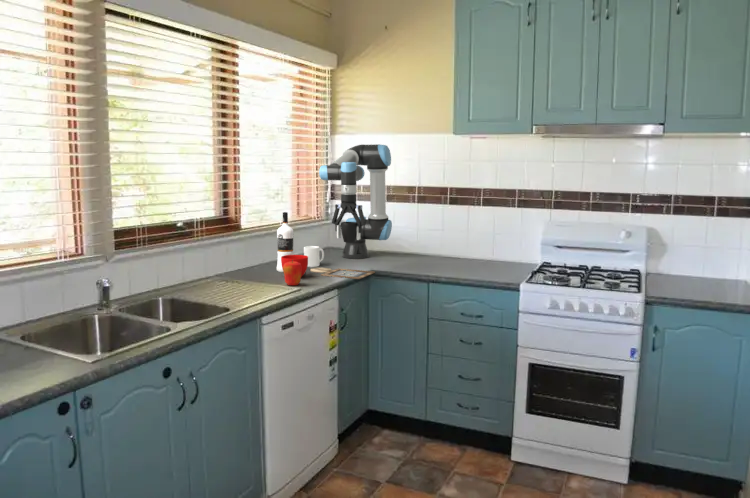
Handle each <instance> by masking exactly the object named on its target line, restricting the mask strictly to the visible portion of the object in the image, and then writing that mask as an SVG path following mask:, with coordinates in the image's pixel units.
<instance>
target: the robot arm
mask: <svg viewBox="0 0 750 498" xmlns="http://www.w3.org/2000/svg"><path fill="white" fill-rule="evenodd" d="M390 150H391V149H390V148H389V147H388V145H386V144H381V143H380V144H376V143H375V144H357V145H355V146H351V147H350V148H348V149H347V150H345V151H344V152H343V153H342V155H341V156H340V157H339V158H337V159H336V160H334V161H333V162H332V163H330V164H326V165H321V166H320V168H319V170H318V171H319V178H320V180H322V181H340V192H341V195H340V202H341V203H340V204H339V203H337V204H335V205H334V212H333V216H332V220H331V224H333V225H335V229H334V230H335V232H336V239H341V238H342V232H341V222H342V219H343V218H344V216H345V214H347V213H349V214H351V215H352V216H353V217H348V218H347V219H345V222H357V224H358V226H357V237H356V240H355V242H352V243H347V242H345V244H344V247H343V251H342V258H345V259H353V260H354V259H355V260H356V259H357V260H358V259H367V258H369V249H368V247H367V244H366V243H367V242H366V240H369V241H370V240H371V241H387V240H389V238H390V236H391V233H392V230H393V229H392V228H393V227H392V226H393V223H392V220H391V219H389V216H388V214H387V213H386V212H387V211H386V209H387V208H386V207H387V206H386V204H387V203H386V171H388V169H389V166H391V164H392V153H391V151H390ZM362 166H366V169H367V171H368V172H369V181H370V182H369V187H370V188H369V189H370V191H369V194H370V195H369V196H370V214H369V215H368V217H366V216H365V215H364V212H363V205H362V204H357V182H359V181H361V180H362V179H364V177H365V170H364V168H363V167H362ZM340 209H341V211H340ZM356 209H357V210H356ZM357 212H358V213H357Z"/></svg>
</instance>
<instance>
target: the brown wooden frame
mask: <svg viewBox="0 0 750 498" xmlns="http://www.w3.org/2000/svg"><path fill="white" fill-rule="evenodd" d="M343 270H346V271H344V272H342V273H341V274H340V273H337V274H333V273H336V272H339V271H343ZM354 271H356V272H354ZM347 272H351V273H347ZM344 273H345V274H347V275H342V274H344ZM358 273H364V274H361V275H359V276H350V274H351V275H358ZM375 273H376V271H373V270H372V271H371V270H362V269H361V270H360V269H351V268H350V269H349V268H339V267H338V268H336V269H332V271H329V272H325V273H320V276H323V277H331V276H332V277H333V278H342V277H345V278H344V279H353V280H361V279H363V278H366V277H368V276H371V275H373V274H375Z"/></svg>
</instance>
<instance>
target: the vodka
mask: <svg viewBox="0 0 750 498" xmlns="http://www.w3.org/2000/svg"><path fill="white" fill-rule="evenodd" d="M288 214H289V213H288V212H287V211H284V212H282V225H281V226H279V227H278V229H277V230H276V238H277V259H276V261H277V262H276V271H277V272H279V273H284V271H283V269H282V264H281V257H282V256H285V255H295V254H294V253H295V251H294V229H293V228H292V227H291V226H290V225H289V216H288Z"/></svg>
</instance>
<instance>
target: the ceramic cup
mask: <svg viewBox="0 0 750 498" xmlns="http://www.w3.org/2000/svg"><path fill="white" fill-rule="evenodd" d="M292 259H293V261H295V262H298V263H300V264H301V266H302V271H301V278H302V277H304V275H305V273H306V272H307V269H308V267H307V266H308V256H305V255H304V254H294V255H285V256H282V257H281V264H282V269H283V266H284V264H285V263H287V262H289V261H292Z"/></svg>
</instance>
